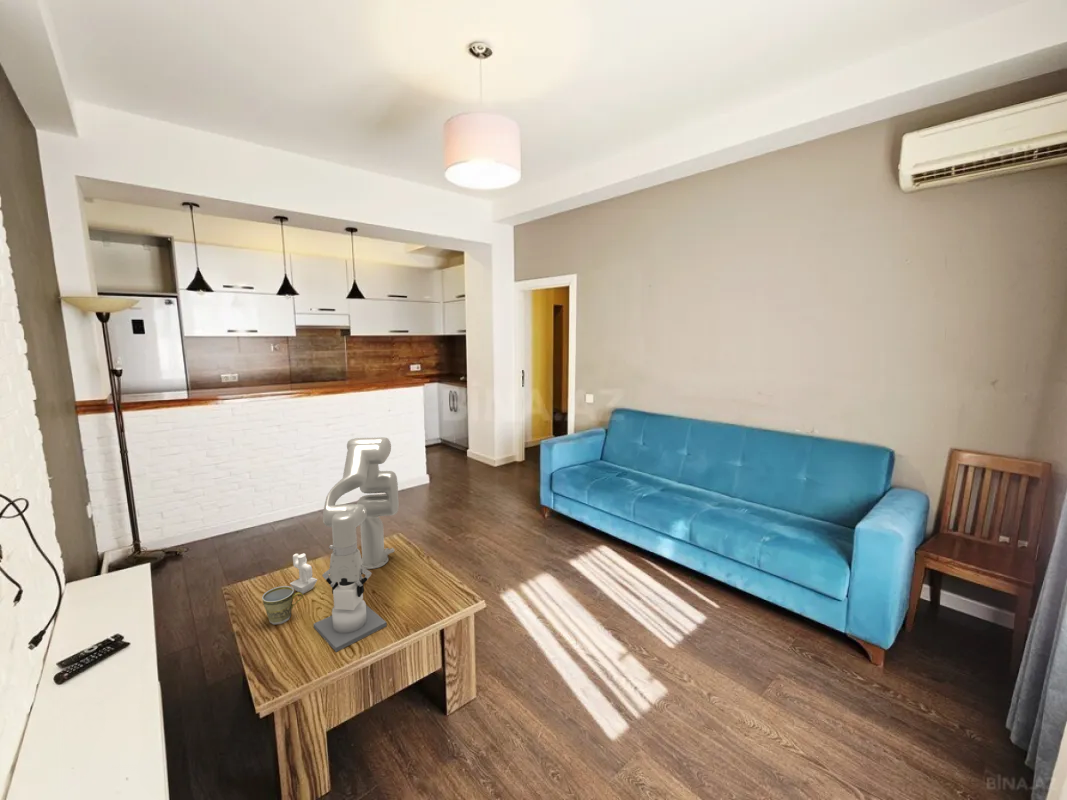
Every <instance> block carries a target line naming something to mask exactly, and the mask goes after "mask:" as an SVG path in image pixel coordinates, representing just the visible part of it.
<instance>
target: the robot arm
mask: <svg viewBox="0 0 1067 800" xmlns="http://www.w3.org/2000/svg"><path fill="white" fill-rule="evenodd" d="M391 443H392V442H391V441H390V439H389V438H388V437H381V436H380V437H379V436H378V437H356V438H354V437H353V438H351V439H349V440H348V441H347V444H346V448H347V452H346V456H345V457H346V458H345V462H344V463H345V464H344V468H343V475H342V478H341V479H340V480H339V481H338V482H337V483H336V484H334V486H333V487H332V488H331V489H330V490H329V492H328V493H327V495H326V498H325V501H324V507H323V511H322V522H323V524H324V525H325V526H326V527H329V528H330V527H331V534H332V544H330V545H329V546H328V548H329V550H332V552H331V554H330V561H329V568H328V570H326V571H325V572H323V573H322V577H323V579H324V580H325V581H326V582H327V583H328V585H329V586H330V588H331V593H332V595H333V590H334V589H335V588H336V587H337V586H338V582H341V579H342V578H347V582H357V584H358V587H357V592H358V597H360V596H361V595H362V593H363V594H364V592H365V588H364V587H365V583H366V582H367V581H368V580H369V578H370V577H371V576H372V573H373V572H371V571H370V570H372V569H378V568H381V567H383V566H385V565H386V564H388V562H389V555H391V554H392V553H394V552H395V548H394V547H393V548H389V547H386V548H385V539H384V537H385V536H384V535H385V534H384V523H383V521H382V519H381V518H380V517H388V516H394V515H397V514H398V512H399V508H400V506H399V505H400V501H399V486H398V485H399V484H398V483H399V482H398V477H397V474H396V473H395V471H392V470H379V469H380V468H379V465H382V464H384V463H385V462H386V461H387V460H388V457H389V456H390V454H391V450H392V444H391ZM358 488H359V490H360V491H361V493H363V494H365V495H362V496H361V497H359V498H358V500H357V502H356V503H350V504H349V503H346V504H345V503H343V504H336V503H337V502H338V500H339V499H340V498H341V497H343V496H344V495H345V494H347V493H349V492H351V491H354V490H356V489H358ZM358 527H360V540H361V541H360V542H361V551H360V549H359V548H358V537H357V528H358ZM362 575H365V576H364V577H363V576H362Z"/></svg>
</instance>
